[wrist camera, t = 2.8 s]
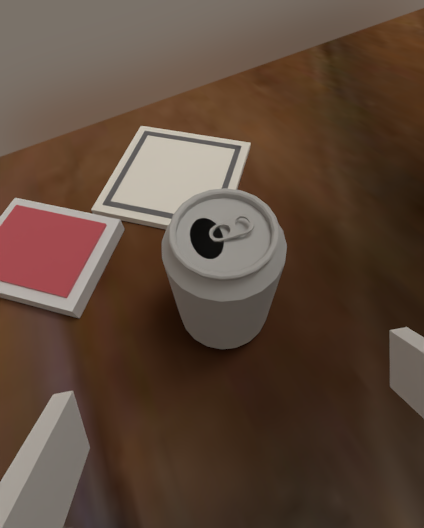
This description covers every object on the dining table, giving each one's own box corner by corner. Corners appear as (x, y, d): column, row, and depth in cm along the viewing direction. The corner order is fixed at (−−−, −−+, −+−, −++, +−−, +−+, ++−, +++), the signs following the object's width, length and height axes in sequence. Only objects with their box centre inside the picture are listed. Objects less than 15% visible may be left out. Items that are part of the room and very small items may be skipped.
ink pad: (124, 229, 32) (119, 217, 31) (79, 318, 28) (70, 310, 26) (23, 207, 34) (13, 195, 33) (-36, 287, 30) (-51, 278, 28)
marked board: (250, 148, 38) (250, 142, 37) (221, 241, 31) (221, 235, 31) (142, 131, 40) (140, 125, 40) (93, 214, 34) (90, 209, 33)
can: (173, 283, 29) (146, 192, 19) (250, 264, 30) (265, 166, 20) (191, 363, 25) (170, 304, 15) (279, 338, 26) (315, 267, 16)
